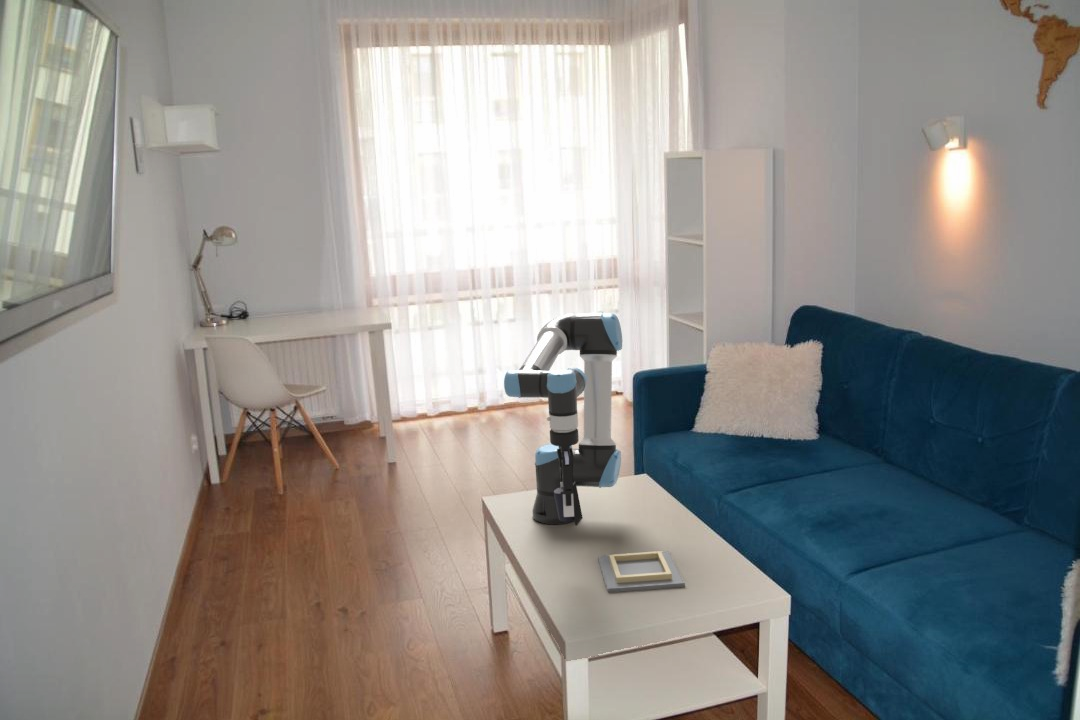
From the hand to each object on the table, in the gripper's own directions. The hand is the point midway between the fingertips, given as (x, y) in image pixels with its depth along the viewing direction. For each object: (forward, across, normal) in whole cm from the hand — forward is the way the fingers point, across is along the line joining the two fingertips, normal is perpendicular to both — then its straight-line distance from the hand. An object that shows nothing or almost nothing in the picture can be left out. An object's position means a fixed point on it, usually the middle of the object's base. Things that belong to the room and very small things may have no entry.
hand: (567, 510), depth 231 cm
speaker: (+3, 0, 0) cm, 3 cm away
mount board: (+17, +5, +18) cm, 26 cm away
